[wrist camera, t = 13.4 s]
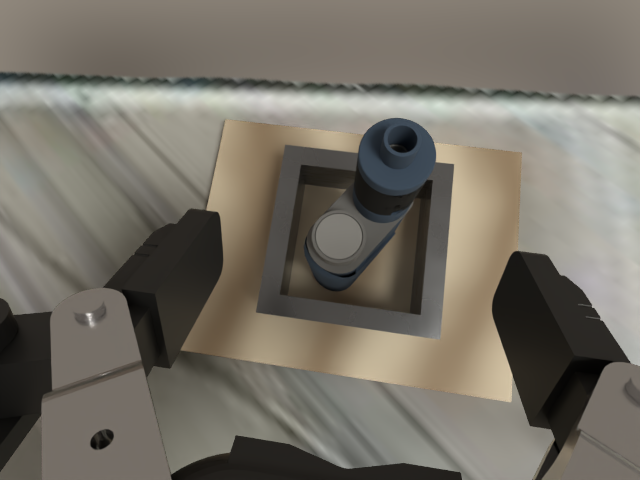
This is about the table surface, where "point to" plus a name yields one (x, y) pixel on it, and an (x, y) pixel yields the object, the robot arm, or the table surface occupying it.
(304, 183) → the square socket
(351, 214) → the vaping device
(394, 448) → the table surface
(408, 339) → the mounting board
